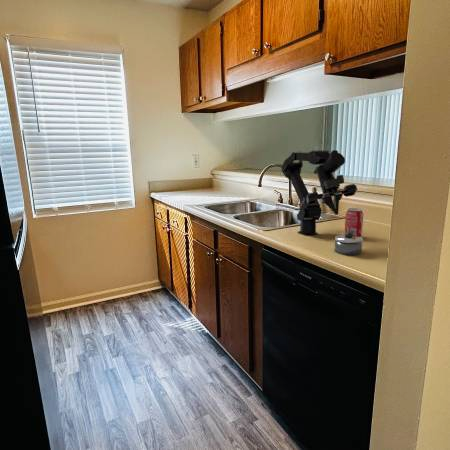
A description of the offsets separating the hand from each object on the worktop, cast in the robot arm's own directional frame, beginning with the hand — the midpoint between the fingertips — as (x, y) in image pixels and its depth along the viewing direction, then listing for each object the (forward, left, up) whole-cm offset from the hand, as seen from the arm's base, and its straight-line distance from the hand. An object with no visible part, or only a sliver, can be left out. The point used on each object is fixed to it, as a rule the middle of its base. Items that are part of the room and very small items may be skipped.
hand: (337, 214), depth 129 cm
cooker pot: (+8, -2, -13) cm, 15 cm away
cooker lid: (+8, -2, -8) cm, 11 cm away
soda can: (-6, +17, -13) cm, 22 cm away
